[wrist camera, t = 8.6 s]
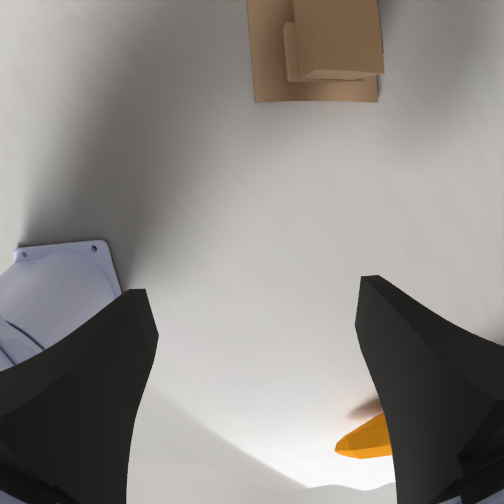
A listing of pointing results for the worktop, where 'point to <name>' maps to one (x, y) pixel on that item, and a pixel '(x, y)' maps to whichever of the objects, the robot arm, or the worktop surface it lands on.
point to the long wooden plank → (338, 39)
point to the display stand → (291, 61)
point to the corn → (367, 440)
